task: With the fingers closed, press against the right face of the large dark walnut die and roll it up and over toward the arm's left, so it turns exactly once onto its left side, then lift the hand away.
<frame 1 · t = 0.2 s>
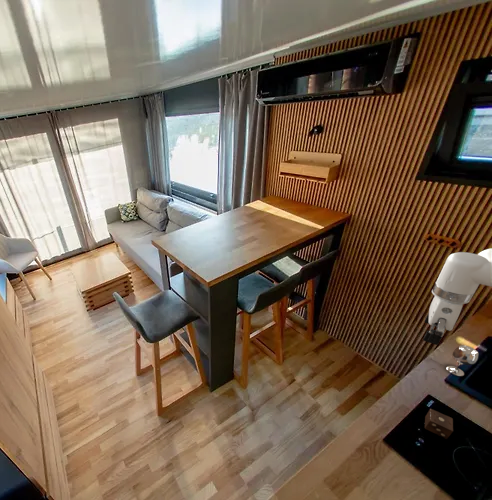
hand: (430, 332, 83), 31 cm above the kitchen counter, tool pointing down, fingers open, 9 cm apart
wineglass: (455, 371, 100), on the kitchen counter
die: (435, 427, 85), on the kitchen counter
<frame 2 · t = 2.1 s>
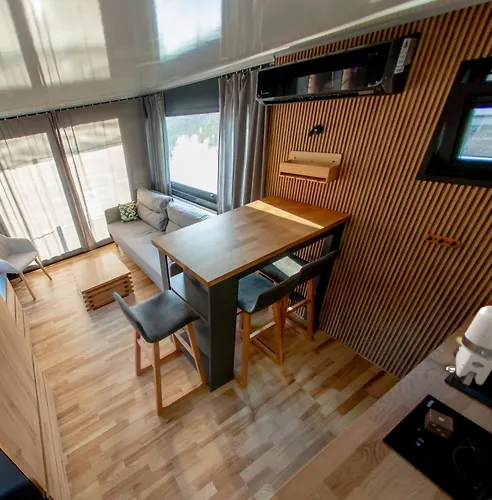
hand: (456, 384, 81), 17 cm above the kitchen counter, tool pointing down, fingers closed
nothing on the kitchen counter moved.
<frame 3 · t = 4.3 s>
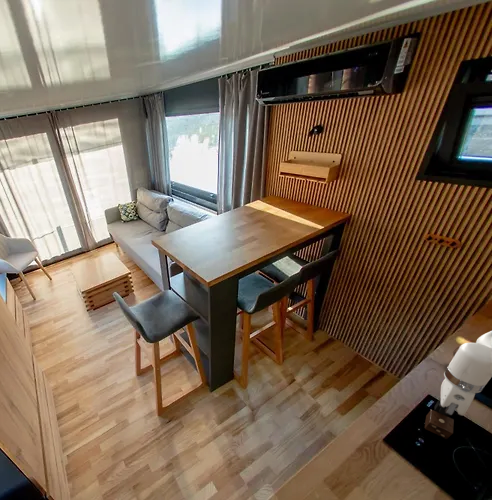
hand: (441, 412, 85), 5 cm above the kitchen counter, tool pointing down, fingers closed
die: (436, 427, 85), on the kitchen counter, tilted 8°, touching gripper
everything else where it was.
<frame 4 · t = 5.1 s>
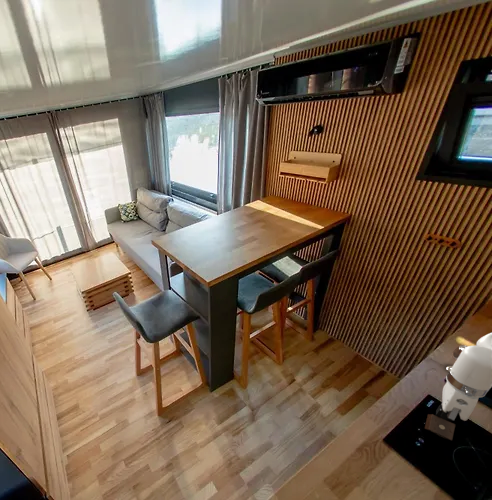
hand: (442, 416, 83), 6 cm above the kitchen counter, tool pointing down, fingers closed
die: (437, 426, 84), point 1 cm above the kitchen counter, tilted 35°, touching gripper
everything else where it was.
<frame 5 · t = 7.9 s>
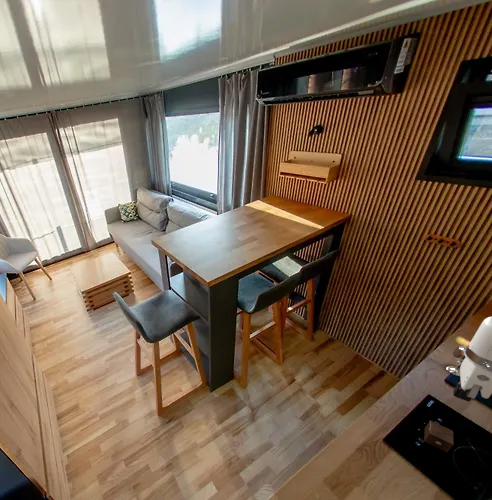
hand: (460, 396, 77), 17 cm above the kitchen counter, tool pointing down, fingers closed
die: (438, 429, 83), point 3 cm above the kitchen counter, tilted 90°
everything else where it was.
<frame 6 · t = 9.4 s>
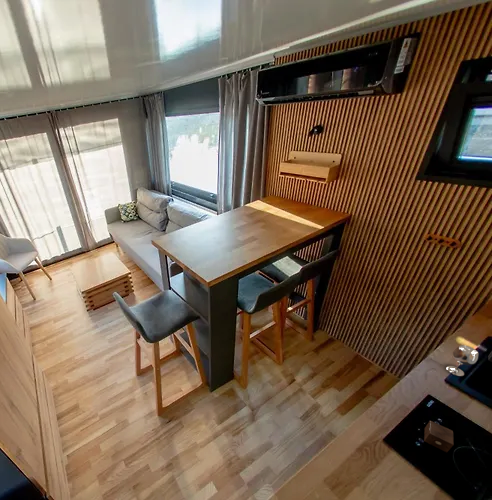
nothing on the kitchen counter moved.
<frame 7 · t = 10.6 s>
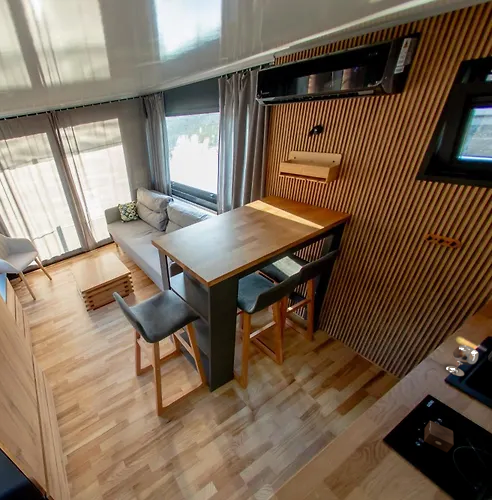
nothing on the kitchen counter moved.
at the end: die tilted 90°; die 2.8 cm from the target spot, point 2.5 cm above the kitchen counter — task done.
